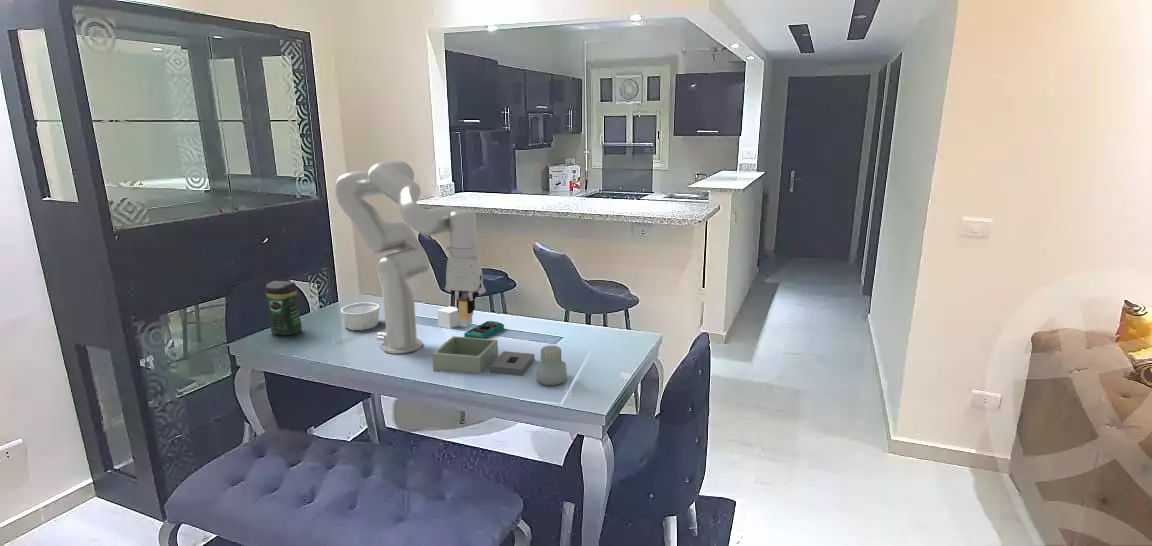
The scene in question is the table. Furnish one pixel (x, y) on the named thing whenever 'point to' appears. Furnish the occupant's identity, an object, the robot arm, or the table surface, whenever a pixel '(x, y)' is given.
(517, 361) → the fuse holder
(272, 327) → the coffee jar
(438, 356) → the parts tray
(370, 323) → the ramekin
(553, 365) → the air freshener
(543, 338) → the table surface
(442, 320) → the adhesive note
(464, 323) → the block
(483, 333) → the digital multimeter
